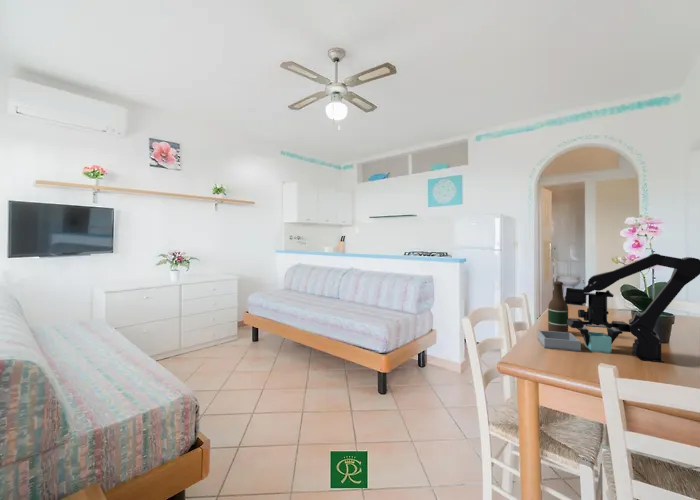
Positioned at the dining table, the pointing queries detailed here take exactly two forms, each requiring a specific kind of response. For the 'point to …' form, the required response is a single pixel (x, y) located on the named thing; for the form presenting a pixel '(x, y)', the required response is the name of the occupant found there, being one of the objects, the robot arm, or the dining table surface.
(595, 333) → the small crate
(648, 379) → the dining table surface
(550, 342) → the big crate
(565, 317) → the beer bottle
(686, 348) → the dining table surface
